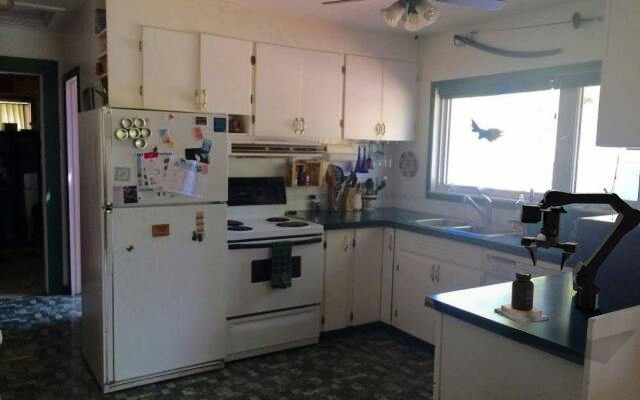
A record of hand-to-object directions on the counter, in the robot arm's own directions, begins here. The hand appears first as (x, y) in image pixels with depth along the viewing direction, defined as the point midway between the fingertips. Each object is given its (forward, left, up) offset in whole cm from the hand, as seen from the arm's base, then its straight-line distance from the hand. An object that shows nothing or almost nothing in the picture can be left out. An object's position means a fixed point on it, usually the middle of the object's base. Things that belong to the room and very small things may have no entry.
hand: (547, 268), depth 185 cm
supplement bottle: (+1, +20, -11) cm, 23 cm away
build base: (+1, +20, -13) cm, 24 cm away
